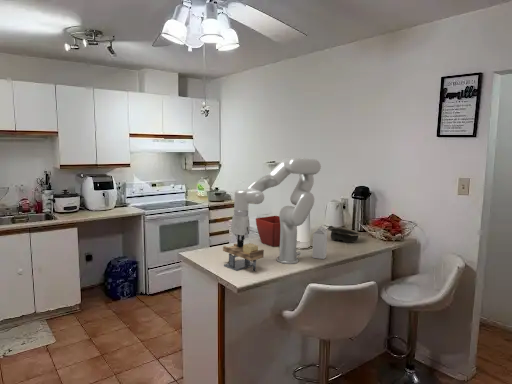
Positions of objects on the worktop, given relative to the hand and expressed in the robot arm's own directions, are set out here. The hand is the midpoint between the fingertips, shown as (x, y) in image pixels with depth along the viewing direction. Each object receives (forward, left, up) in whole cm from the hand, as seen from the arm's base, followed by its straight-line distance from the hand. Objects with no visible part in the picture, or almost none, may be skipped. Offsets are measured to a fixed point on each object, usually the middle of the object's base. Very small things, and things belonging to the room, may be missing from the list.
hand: (240, 246), depth 192 cm
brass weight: (+1, +9, -2) cm, 9 cm away
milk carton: (-47, +19, -11) cm, 52 cm away
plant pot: (-49, -19, -11) cm, 54 cm away
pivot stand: (0, +1, -11) cm, 11 cm away
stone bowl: (-96, +7, -11) cm, 97 cm away
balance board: (0, +2, -4) cm, 4 cm away
